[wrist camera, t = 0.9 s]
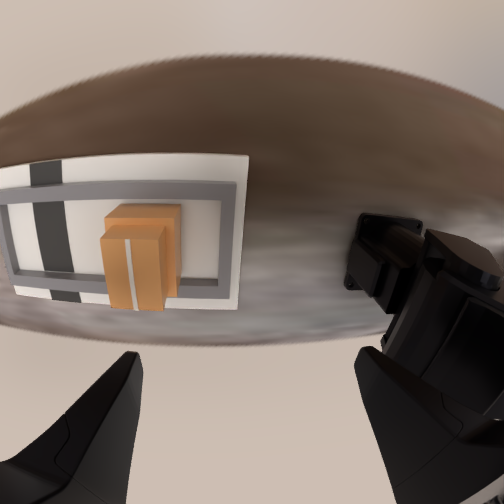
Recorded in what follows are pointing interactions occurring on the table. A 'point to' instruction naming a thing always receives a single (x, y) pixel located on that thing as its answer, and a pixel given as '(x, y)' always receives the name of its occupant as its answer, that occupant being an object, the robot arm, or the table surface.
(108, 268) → the fader knob
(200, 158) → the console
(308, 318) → the table surface
